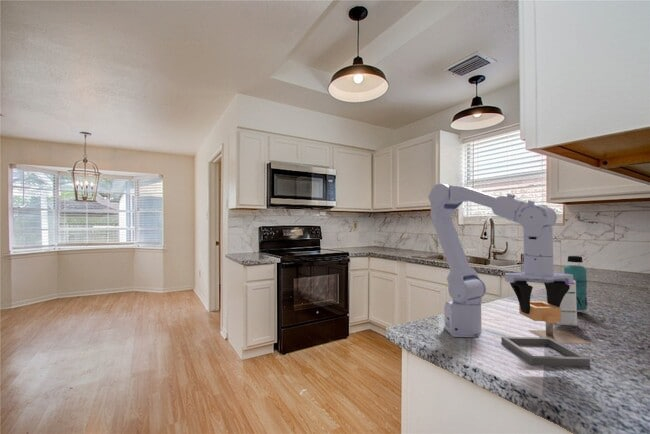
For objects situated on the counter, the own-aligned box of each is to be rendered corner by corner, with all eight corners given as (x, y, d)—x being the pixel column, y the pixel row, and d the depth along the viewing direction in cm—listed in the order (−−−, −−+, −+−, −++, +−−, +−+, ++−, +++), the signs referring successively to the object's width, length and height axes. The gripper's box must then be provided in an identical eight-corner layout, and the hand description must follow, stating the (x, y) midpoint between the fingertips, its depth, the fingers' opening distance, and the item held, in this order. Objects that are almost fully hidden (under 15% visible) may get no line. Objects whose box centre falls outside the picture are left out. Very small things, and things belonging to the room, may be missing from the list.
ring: (519, 313, 73) (519, 301, 74) (543, 313, 73) (543, 301, 73) (539, 323, 66) (539, 309, 66) (566, 323, 66) (566, 310, 66)
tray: (532, 369, 64) (531, 357, 64) (501, 346, 76) (501, 336, 76) (590, 370, 63) (589, 359, 63) (550, 347, 75) (549, 337, 75)
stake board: (550, 346, 76) (550, 321, 76) (528, 333, 85) (527, 311, 85) (591, 347, 75) (590, 322, 75) (564, 334, 84) (564, 312, 84)
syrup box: (578, 329, 89) (577, 280, 89) (555, 327, 90) (555, 279, 90) (566, 322, 94) (566, 276, 95) (545, 321, 95) (545, 276, 96)
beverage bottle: (559, 310, 107) (558, 255, 108) (572, 309, 109) (571, 254, 110) (579, 315, 101) (578, 257, 102) (592, 314, 103) (591, 256, 104)
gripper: (517, 257, 67) (517, 317, 67) (583, 257, 67) (584, 318, 66) (500, 254, 74) (500, 308, 74) (560, 254, 74) (561, 309, 73)
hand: (539, 312), depth 71 cm, fingers closed on ring, 6 cm apart
